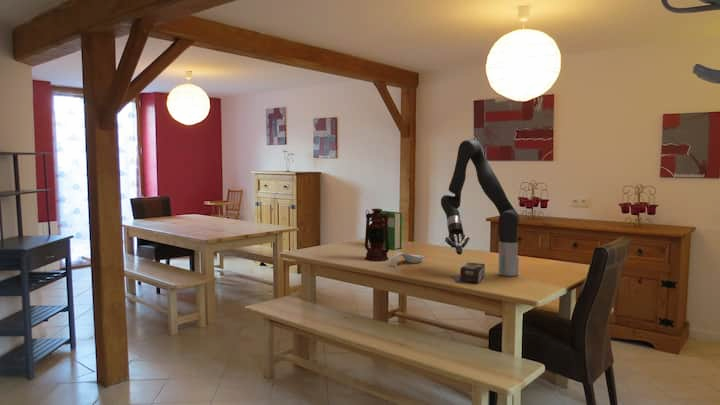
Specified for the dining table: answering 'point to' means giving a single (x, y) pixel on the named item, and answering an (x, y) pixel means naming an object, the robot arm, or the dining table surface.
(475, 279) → the coffee box
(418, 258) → the spoon rest
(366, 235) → the lantern
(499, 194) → the robot arm
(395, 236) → the hardback book
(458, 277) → the mat
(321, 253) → the dining table surface
